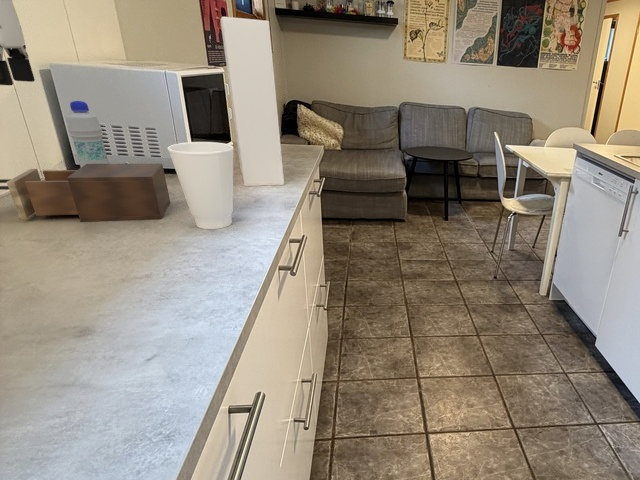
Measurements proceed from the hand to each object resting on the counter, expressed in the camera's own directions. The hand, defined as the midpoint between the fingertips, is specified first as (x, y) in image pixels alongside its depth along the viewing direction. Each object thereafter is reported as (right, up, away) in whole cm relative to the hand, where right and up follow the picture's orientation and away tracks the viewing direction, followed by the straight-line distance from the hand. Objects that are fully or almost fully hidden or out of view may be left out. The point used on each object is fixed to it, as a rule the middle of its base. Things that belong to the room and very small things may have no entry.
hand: (13, 82), depth 88 cm
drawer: (-2, -22, +11) cm, 24 cm away
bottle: (-8, -11, +32) cm, 35 cm away
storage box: (+26, -4, +51) cm, 57 cm away
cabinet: (+11, -21, +16) cm, 29 cm away
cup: (+31, -25, +13) cm, 42 cm away
